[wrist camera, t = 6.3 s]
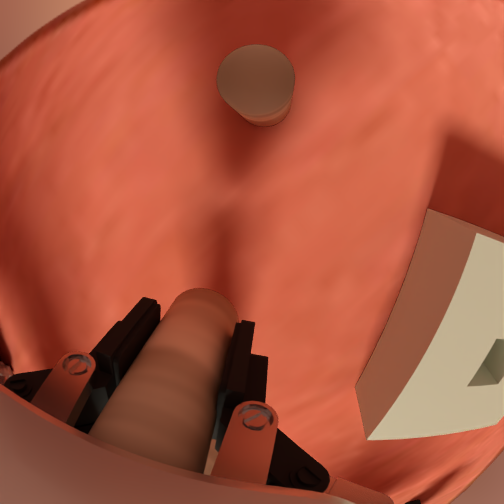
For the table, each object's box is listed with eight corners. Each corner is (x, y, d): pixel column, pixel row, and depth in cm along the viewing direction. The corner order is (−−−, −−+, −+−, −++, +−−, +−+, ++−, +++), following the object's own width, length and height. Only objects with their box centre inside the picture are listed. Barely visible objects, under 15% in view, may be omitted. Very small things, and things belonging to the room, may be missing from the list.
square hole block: (475, 387, 22) (496, 424, 16) (354, 387, 22) (366, 440, 17) (542, 254, 16) (580, 279, 11) (427, 208, 17) (476, 232, 11)
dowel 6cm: (285, 131, 16) (287, 119, 11) (233, 122, 16) (210, 108, 11) (294, 82, 15) (300, 50, 10) (243, 74, 15) (224, 40, 10)
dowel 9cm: (233, 353, 13) (192, 529, 5) (169, 338, 13) (87, 493, 5) (244, 296, 12) (194, 498, 4) (173, 281, 12) (53, 443, 4)
